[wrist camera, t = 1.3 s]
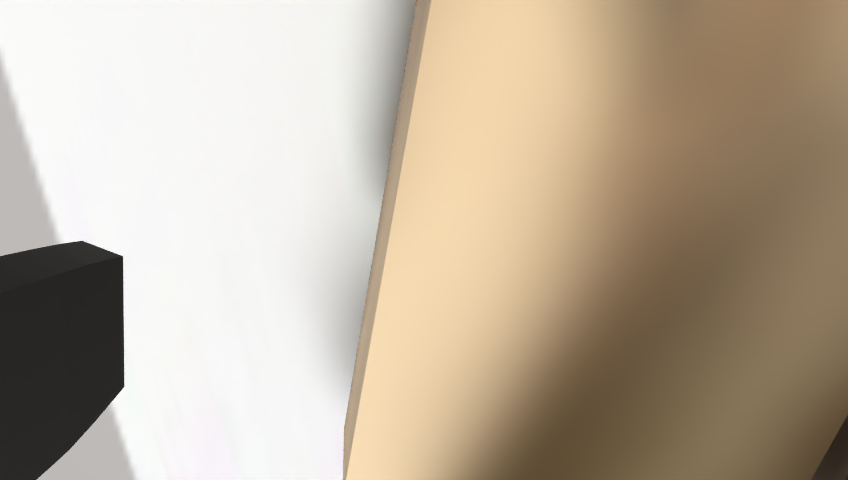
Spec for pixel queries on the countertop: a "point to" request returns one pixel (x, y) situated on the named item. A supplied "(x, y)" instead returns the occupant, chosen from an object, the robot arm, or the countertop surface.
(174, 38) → the countertop surface
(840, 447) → the floor board
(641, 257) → the plank
